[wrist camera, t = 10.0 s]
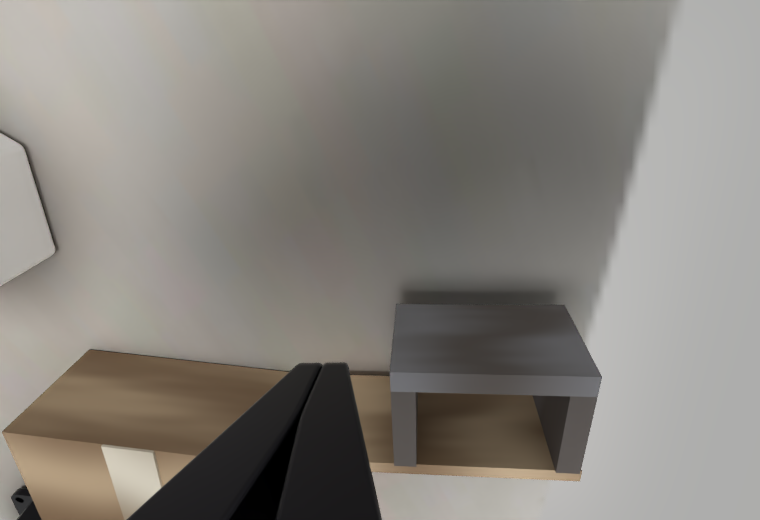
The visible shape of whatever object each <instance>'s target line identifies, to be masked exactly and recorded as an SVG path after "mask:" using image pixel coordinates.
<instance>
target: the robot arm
mask: <svg viewBox="0 0 760 520" xmlns="http://www.w3.org/2000/svg"><path fill="white" fill-rule="evenodd" d="M11 498H12V501H13V503H14V505H15V507H16V509H17V511H18V513H19V515H20V516H19V517H18V518H17V520H42V519H41V517H40V515H39V513H38V511H37V508H36V506H35V504H34V502H33V500H32V497H31V495H30V493H29V491H28V489H18V490H17V491H16V492H15V493H14V494H13V495H12V497H11ZM126 520H382V518H381V514H380V509H379V504H378V500H377V495H376V491H375V486H374V482H373V477H372V473H371V468H370V463H369V459H368V454H367V450H366V445H365V441H364V436H363V432H362V427H361V422H360V418H359V413H358V409H357V404H356V400H355V395H354V391H353V386H352V381H351V377H350V372H349V368H348V365H347V363H344V362H340V363H325V364H324V365H322V364H321V363H300V364H298V365H297V366H295V367H294V368H293V369H292V370H291V371H290V372H289V373H288V374H286V375H285V376H284V377H283V378H282V379H281V380H280V381H279V382H278V383H276V384H275V385H274V386H273V387H272V388H271V389H270V390H269V391H268V392H267V393H265V394H264V395H263V396H262V397H261V398H260V399H259V400H258V401H257V402H256V403H254V404H253V405H252V406H251V407H250V408H249V409H248V410H247V411H246V412H244V413H243V414H242V415H241V416H240V417H239V418H238V419H237V420H236V421H235V422H233V423H232V424H231V425H230V426H229V427H228V428H227V429H226V430H225V431H223V432H222V433H221V434H220V435H219V436H218V437H217V438H216V439H215V440H214V441H212V442H211V443H210V444H209V445H208V446H207V447H206V448H205V449H204V450H202V451H201V452H200V453H199V454H198V455H197V456H196V457H195V458H194V459H193V460H191V461H190V462H189V463H188V464H187V465H186V466H185V467H184V468H183V469H181V470H180V471H179V472H178V473H177V474H176V475H175V476H174V477H173V478H172V479H170V480H169V481H168V482H167V483H166V484H165V485H164V486H163V487H162V488H160V489H159V490H158V491H157V492H156V493H155V494H154V495H153V496H152V497H151V498H149V499H148V500H147V501H146V502H145V503H144V504H143V505H142V506H141V507H140V508H138V509H137V510H136V511H135V512H134V513H133V514H132V515H131V516H130V517H128V518H127V519H126Z"/></svg>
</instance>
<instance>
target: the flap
mask: <svg viewBox="0 0 760 520" xmlns="http://www.w3.org/2000/svg"><path fill="white" fill-rule="evenodd" d="M350 377H351V381H352V386H353V391H354V395H355V400H356V404H357V409H358V413H359V418H360V422H361V427H362V432H363V436H364V441H365V445H366V450H367V454H368V459H369V463H370V468H371V472H385V473H408V474H430V475H452V476H474V477H496V478H519V479H541V480H563V481H580V478H581V474H582V470H581V467H582V462H583V458H584V454H585V449H586V445H587V441H588V436H589V432H590V427H591V423H592V419H593V414H594V409H595V405H596V401H597V397H598V392H599V388H600V384H601V379H602V376H601V374H600V372H599V370H598V368H597V367H596V365H595V363H594V361H593V359H592V357H591V355H590V353H589V351H588V349H587V347H586V345H585V343H584V342H583V340H582V338H581V336H580V334H579V332H578V330H577V328H576V326H575V324H574V322H573V320H572V319H571V317H570V315H569V313H568V311H567V309H566V307H565V305H478V304H396V314H395V324H394V334H393V344H392V354H391V364H390V376H366V375H350Z"/></svg>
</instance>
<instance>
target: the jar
mask: <svg viewBox="0 0 760 520" xmlns="http://www.w3.org/2000/svg"><path fill="white" fill-rule="evenodd" d="M54 253H55V246H54V243H53V239H52V236H51V233H50V230H49V226H48V223H47V220H46V217H45V213H44V210H43V207H42V204H41V200H40V197H39V194H38V191H37V188H36V184H35V181H34V178H33V175H32V171H31V168H30V165H29V162H28V158H27V155H26V152H25V149H24V147H23V146H22V145H21V144H19V143H17V142H15V141H14V140H12V139H10V138H9V137H7V136H5V135H3V134H2V133H0V286H2V285H3V284H5V283H7V282H8V281H10V280H12V279H13V278H15V277H17V276H19V275H20V274H22V273H24V272H25V271H27V270H29V269H30V268H32V267H34V266H35V265H37V264H39V263H40V262H42V261H44V260H45V259H47V258H49V257H50V256H52V255H53V254H54Z"/></svg>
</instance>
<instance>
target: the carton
mask: <svg viewBox="0 0 760 520" xmlns="http://www.w3.org/2000/svg"><path fill="white" fill-rule="evenodd" d="M288 373H289V372H284V371H275V370H267V369H258V368H249V367H240V366H231V365H222V364H213V363H204V362H195V361H186V360H177V359H169V358H160V357H151V356H142V355H133V354H124V353H115V352H106V351H97V350H88V351H87V352H86V353H85V354H84V355H83V356H82V357H81V358H80V359H79V360H78V361H77V362H76V363H75V364H74V365H72V366H71V367H70V368H69V369H68V370H67V371H66V372H65V373H64V374H63V375H62V376H61V377H60V378H59V379H58V380H57V381H55V382H54V383H53V384H52V385H51V386H50V387H49V388H48V389H47V390H46V391H45V392H44V393H43V394H42V395H41V396H40V397H38V398H37V399H36V400H35V401H34V402H33V403H32V404H31V405H30V406H29V407H28V408H27V409H26V410H25V411H24V412H23V413H21V414H20V415H19V416H18V417H17V418H16V419H15V420H14V421H13V422H12V423H11V424H10V425H9V426H8V427H7V428H6V429H4V430H3V431H2V433H3V436H4V438H5V440H6V442H7V444H8V447H9V449H10V451H11V453H12V455H13V458H14V460H15V462H16V464H17V467H18V469H19V471H20V473H21V475H22V478H23V480H24V482H25V484H26V486H27V489H28V491H29V493H30V495H31V497H32V500H33V502H34V504H35V506H36V508H37V511H38V513H39V515H40V517H41V519H42V520H126V519H127V518H128V517H130V516H131V515H132V514H133V513H134V512H135V511H136V510H137V509H138V508H140V507H141V506H142V505H143V504H144V503H145V502H146V501H147V500H148V499H149V498H151V497H152V496H153V495H154V494H155V493H156V492H157V491H158V490H159V489H160V488H162V487H163V486H164V485H165V484H166V483H167V482H168V481H169V480H170V479H172V478H173V477H174V476H175V475H176V474H177V473H178V472H179V471H180V470H181V469H183V468H184V467H185V466H186V465H187V464H188V463H189V462H190V461H191V460H193V459H194V458H195V457H196V456H197V455H198V454H199V453H200V452H201V451H202V450H204V449H205V448H206V447H207V446H208V445H209V444H210V443H211V442H212V441H214V440H215V439H216V438H217V437H218V436H219V435H220V434H221V433H222V432H223V431H225V430H226V429H227V428H228V427H229V426H230V425H231V424H232V423H233V422H235V421H236V420H237V419H238V418H239V417H240V416H241V415H242V414H243V413H244V412H246V411H247V410H248V409H249V408H250V407H251V406H252V405H253V404H254V403H256V402H257V401H258V400H259V399H260V398H261V397H262V396H263V395H264V394H265V393H267V392H268V391H269V390H270V389H271V388H272V387H273V386H274V385H275V384H276V383H278V382H279V381H280V380H281V379H282V378H283V377H284V376H285V375H286V374H288Z"/></svg>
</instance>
